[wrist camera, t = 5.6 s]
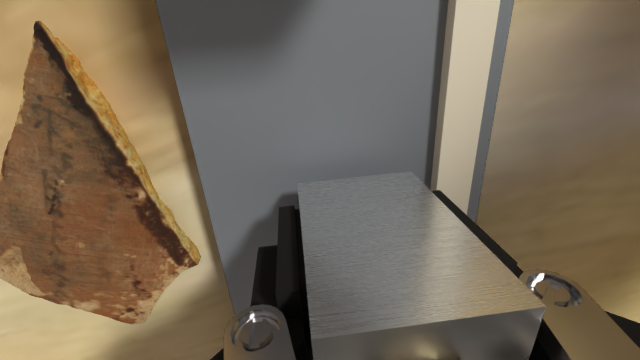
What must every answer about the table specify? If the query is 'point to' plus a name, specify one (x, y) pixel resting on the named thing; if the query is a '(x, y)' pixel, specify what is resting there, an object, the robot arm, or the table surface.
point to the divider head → (405, 277)
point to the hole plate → (330, 102)
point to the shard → (82, 199)
